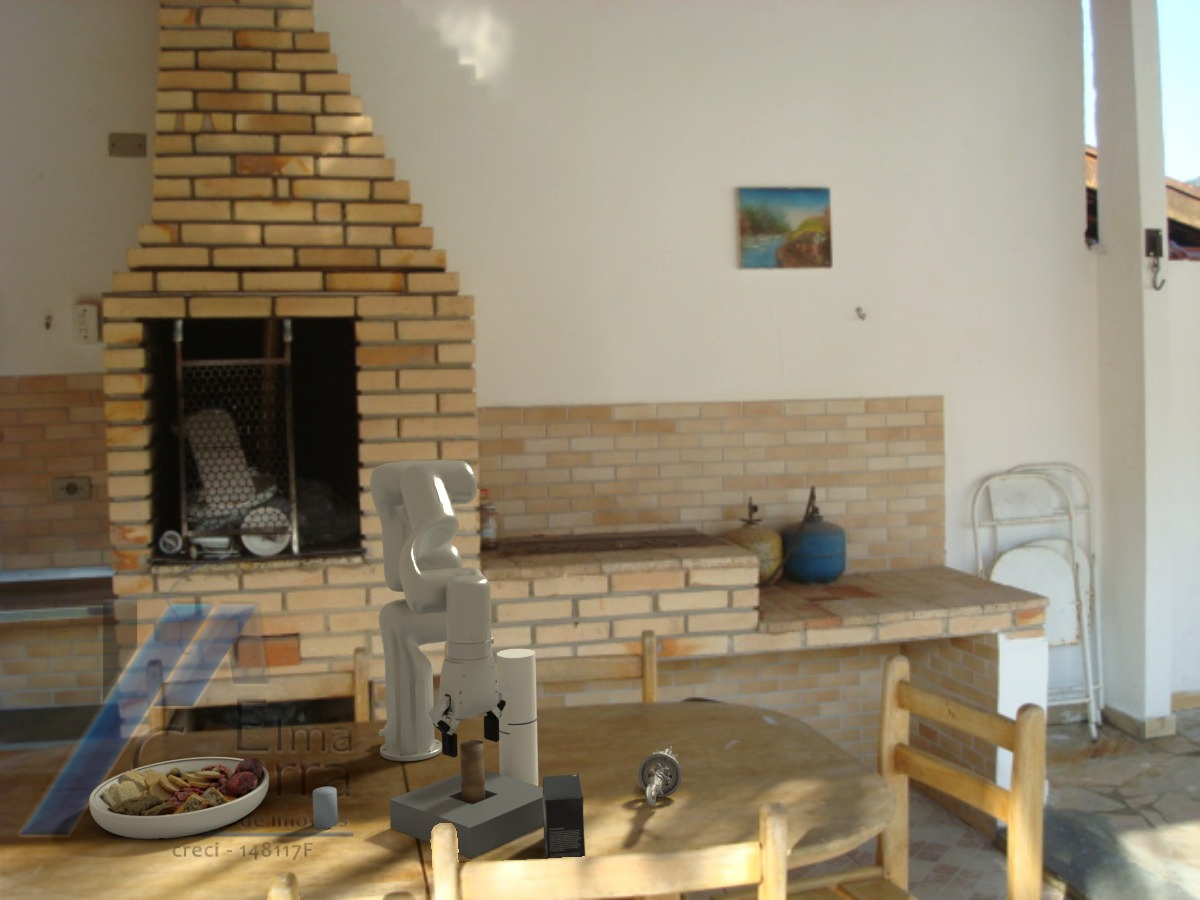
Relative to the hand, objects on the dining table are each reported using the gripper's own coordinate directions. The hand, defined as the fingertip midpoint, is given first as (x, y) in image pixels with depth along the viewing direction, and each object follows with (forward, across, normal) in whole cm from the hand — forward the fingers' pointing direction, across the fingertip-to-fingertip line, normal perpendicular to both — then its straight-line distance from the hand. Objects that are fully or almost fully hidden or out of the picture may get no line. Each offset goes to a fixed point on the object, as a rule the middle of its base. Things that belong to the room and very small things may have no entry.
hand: (471, 747), depth 194 cm
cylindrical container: (+14, -18, -6) cm, 23 cm away
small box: (+13, -2, +20) cm, 24 cm away
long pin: (+13, 0, +1) cm, 13 cm away
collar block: (+13, 0, +1) cm, 13 cm away
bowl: (+14, +28, -45) cm, 55 cm away
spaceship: (+13, -29, +18) cm, 37 cm away
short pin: (+13, +16, -19) cm, 29 cm away
